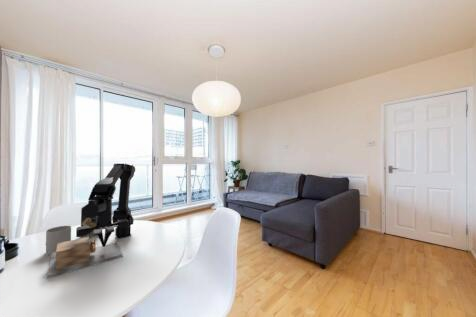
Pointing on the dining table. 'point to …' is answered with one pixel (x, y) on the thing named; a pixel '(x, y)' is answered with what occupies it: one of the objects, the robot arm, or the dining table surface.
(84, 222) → the coffee box
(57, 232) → the cup
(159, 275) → the dining table surface
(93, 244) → the shaft
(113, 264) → the dining table surface
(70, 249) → the wooden block on base
